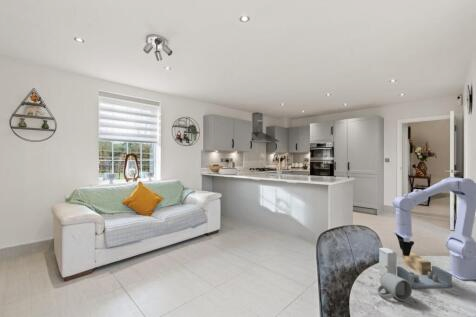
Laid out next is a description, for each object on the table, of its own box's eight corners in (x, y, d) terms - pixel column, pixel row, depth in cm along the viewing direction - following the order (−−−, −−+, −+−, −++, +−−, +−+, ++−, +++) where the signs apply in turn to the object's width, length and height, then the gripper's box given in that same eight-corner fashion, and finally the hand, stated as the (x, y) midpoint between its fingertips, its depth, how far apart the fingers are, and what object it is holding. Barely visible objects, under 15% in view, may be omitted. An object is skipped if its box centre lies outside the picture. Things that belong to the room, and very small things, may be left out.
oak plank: (402, 263, 116) (402, 251, 116) (410, 263, 116) (410, 251, 116) (422, 275, 104) (421, 262, 104) (431, 275, 104) (430, 262, 104)
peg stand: (435, 277, 102) (435, 265, 102) (452, 287, 94) (451, 275, 94) (397, 277, 102) (396, 266, 102) (410, 287, 94) (410, 275, 94)
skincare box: (378, 273, 106) (377, 247, 106) (387, 273, 106) (387, 247, 106) (387, 280, 100) (387, 252, 100) (397, 280, 100) (396, 252, 100)
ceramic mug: (394, 287, 94) (393, 269, 94) (412, 299, 86) (412, 279, 86) (372, 291, 92) (371, 272, 92) (389, 304, 84) (388, 283, 84)
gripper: (391, 218, 114) (392, 245, 114) (395, 226, 101) (396, 257, 101) (408, 219, 110) (409, 247, 110) (415, 228, 98) (416, 260, 97)
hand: (404, 252), depth 105 cm, fingers open, 7 cm apart
